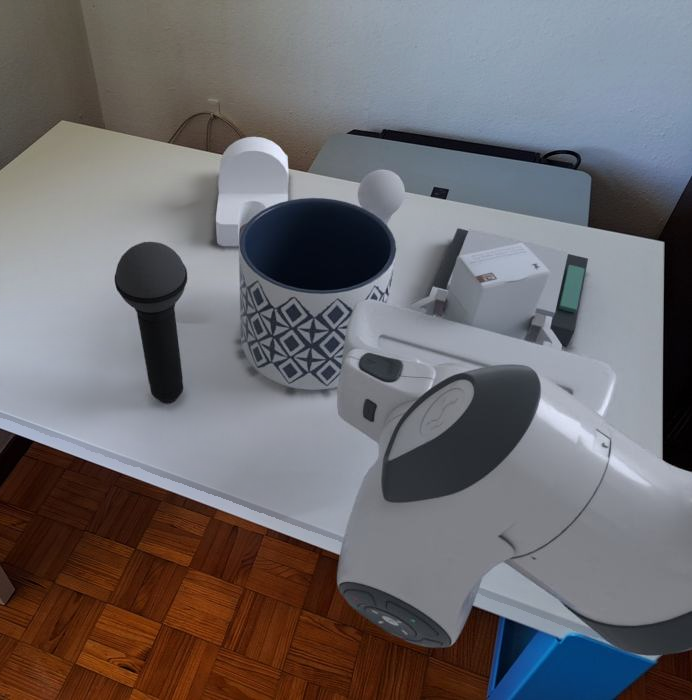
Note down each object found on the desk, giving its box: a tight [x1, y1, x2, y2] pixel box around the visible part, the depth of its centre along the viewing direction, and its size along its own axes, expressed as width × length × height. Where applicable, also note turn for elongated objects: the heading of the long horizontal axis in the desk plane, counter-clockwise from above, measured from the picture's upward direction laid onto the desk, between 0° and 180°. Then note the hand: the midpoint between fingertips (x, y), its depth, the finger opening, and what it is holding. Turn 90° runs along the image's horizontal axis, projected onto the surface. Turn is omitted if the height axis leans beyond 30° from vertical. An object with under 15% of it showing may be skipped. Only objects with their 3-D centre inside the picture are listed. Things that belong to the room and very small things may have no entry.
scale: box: [433, 227, 589, 347], centre depth 83 cm, size 16×14×4 cm
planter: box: [238, 197, 398, 391], centre depth 74 cm, size 16×16×14 cm
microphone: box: [114, 241, 188, 405], centre depth 67 cm, size 7×7×20 cm
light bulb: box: [357, 169, 406, 226], centre depth 89 cm, size 6×6×10 cm
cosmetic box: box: [440, 243, 550, 341], centre depth 58 cm, size 6×4×12 cm
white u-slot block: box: [215, 136, 290, 247], centre depth 95 cm, size 10×18×10 cm, turn 177°
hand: (488, 306), depth 58 cm, fingers closed on cosmetic box, 7 cm apart
